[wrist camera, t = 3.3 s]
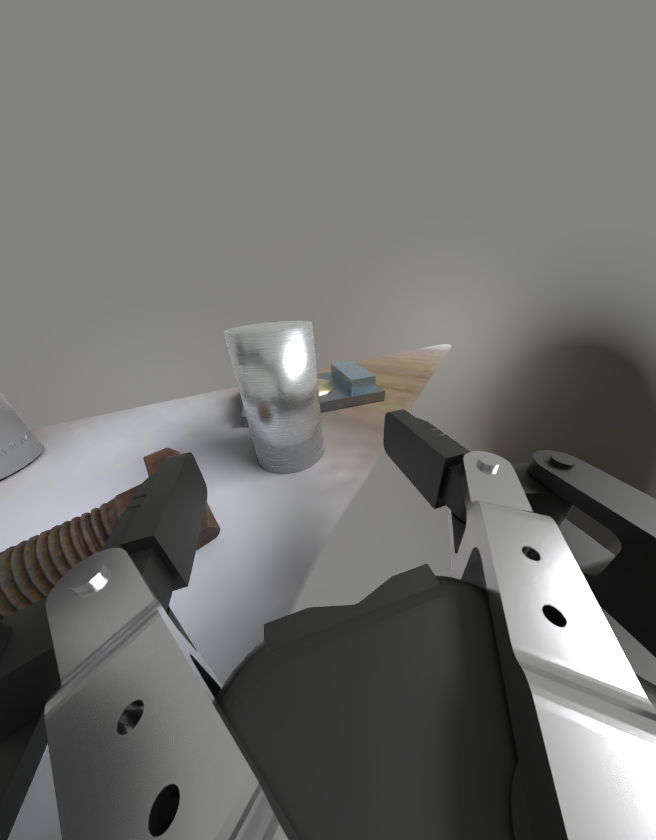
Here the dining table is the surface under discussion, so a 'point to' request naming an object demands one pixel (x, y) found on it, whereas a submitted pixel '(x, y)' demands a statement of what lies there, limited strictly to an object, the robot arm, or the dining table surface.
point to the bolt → (72, 547)
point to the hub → (279, 392)
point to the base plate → (344, 388)
